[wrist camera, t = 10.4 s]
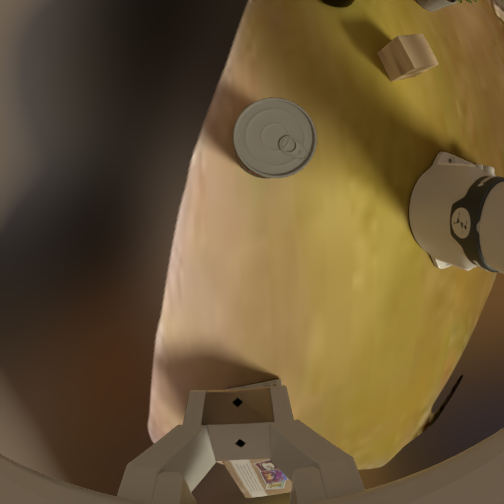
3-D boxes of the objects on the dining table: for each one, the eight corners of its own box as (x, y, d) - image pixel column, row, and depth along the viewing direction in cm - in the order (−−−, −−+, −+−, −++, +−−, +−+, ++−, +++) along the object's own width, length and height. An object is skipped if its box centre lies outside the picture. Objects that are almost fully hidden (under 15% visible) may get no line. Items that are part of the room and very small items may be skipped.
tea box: (221, 388, 45) (216, 456, 31) (280, 376, 45) (294, 443, 30) (243, 440, 49) (245, 500, 34) (294, 431, 48) (306, 490, 34)
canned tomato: (223, 158, 36) (216, 150, 26) (255, 108, 35) (260, 82, 24) (276, 189, 38) (290, 194, 27) (306, 140, 36) (331, 126, 25)
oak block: (400, 49, 33) (422, 33, 26) (414, 76, 34) (438, 64, 27) (376, 53, 33) (397, 36, 26) (391, 81, 34) (414, 68, 27)
